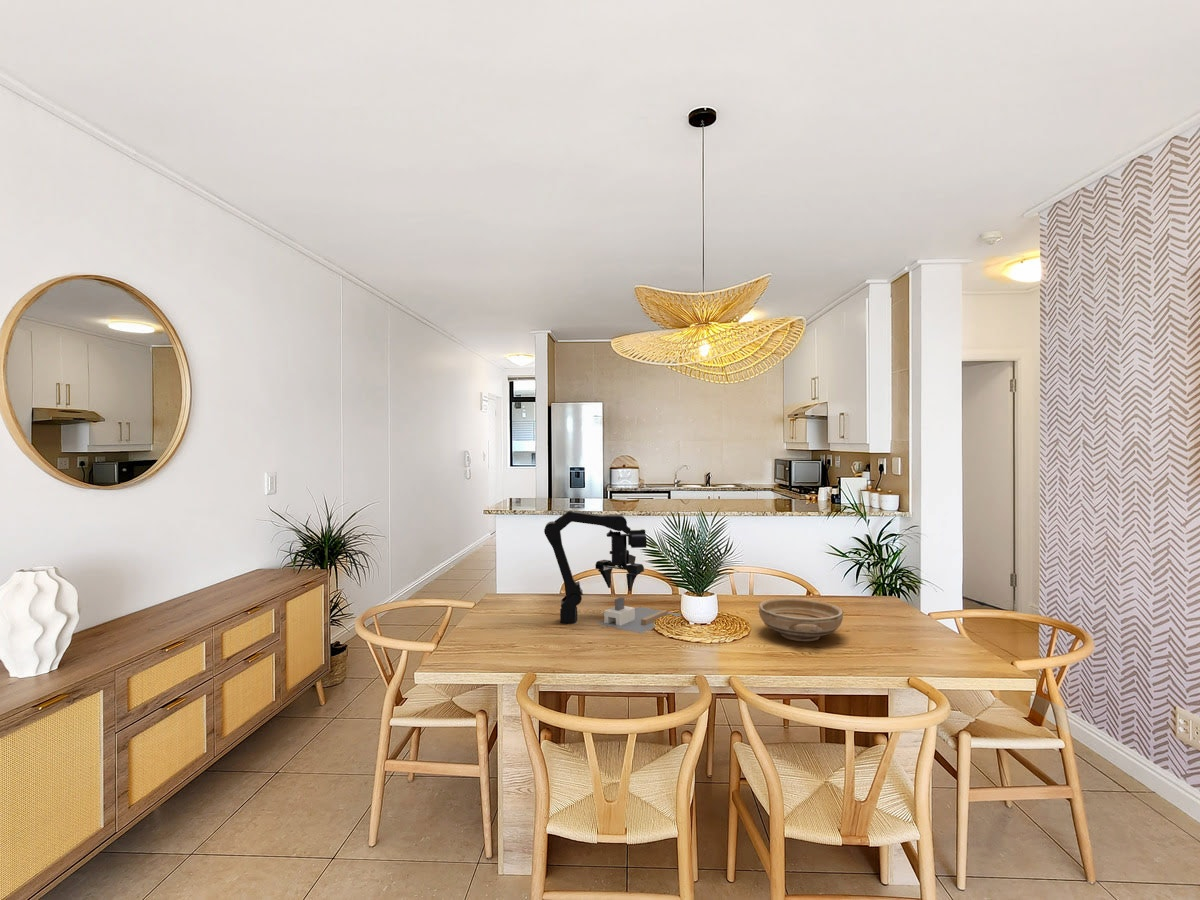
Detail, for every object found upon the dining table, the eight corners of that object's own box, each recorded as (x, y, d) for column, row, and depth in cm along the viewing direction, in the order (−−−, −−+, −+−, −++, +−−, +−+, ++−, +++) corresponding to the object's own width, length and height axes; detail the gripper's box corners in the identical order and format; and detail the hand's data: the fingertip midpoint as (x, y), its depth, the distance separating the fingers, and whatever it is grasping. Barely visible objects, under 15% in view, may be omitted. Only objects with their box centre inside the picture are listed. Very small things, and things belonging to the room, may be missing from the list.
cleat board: (641, 636, 216) (641, 627, 216) (596, 626, 228) (596, 618, 228) (682, 617, 240) (682, 609, 240) (639, 609, 252) (639, 602, 252)
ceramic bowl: (854, 655, 195) (854, 624, 195) (762, 650, 201) (762, 620, 201) (832, 623, 232) (832, 596, 232) (754, 619, 237) (754, 593, 237)
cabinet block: (619, 625, 225) (619, 602, 225) (604, 622, 230) (604, 599, 230) (634, 619, 234) (634, 597, 234) (619, 616, 238) (619, 594, 238)
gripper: (651, 547, 233) (651, 588, 233) (611, 543, 244) (611, 582, 244) (635, 551, 224) (635, 594, 224) (594, 547, 235) (594, 587, 235)
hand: (619, 589), depth 232 cm, fingers open, 9 cm apart
